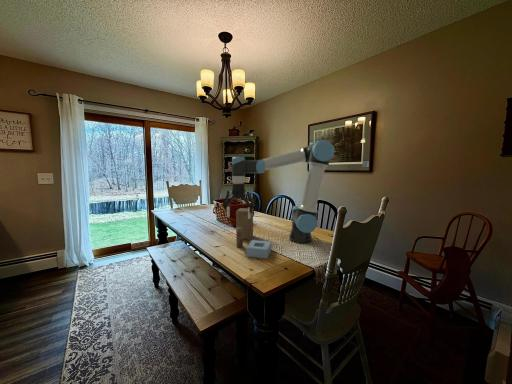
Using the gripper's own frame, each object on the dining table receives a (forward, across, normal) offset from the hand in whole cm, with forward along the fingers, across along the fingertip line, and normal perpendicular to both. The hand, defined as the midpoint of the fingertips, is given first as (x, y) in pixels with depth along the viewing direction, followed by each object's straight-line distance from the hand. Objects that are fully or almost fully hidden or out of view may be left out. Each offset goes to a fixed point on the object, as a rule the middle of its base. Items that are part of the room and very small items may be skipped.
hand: (238, 217), depth 125 cm
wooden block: (+19, +2, -17) cm, 25 cm away
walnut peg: (+19, 0, 0) cm, 19 cm away
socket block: (+18, -14, +6) cm, 24 cm away
